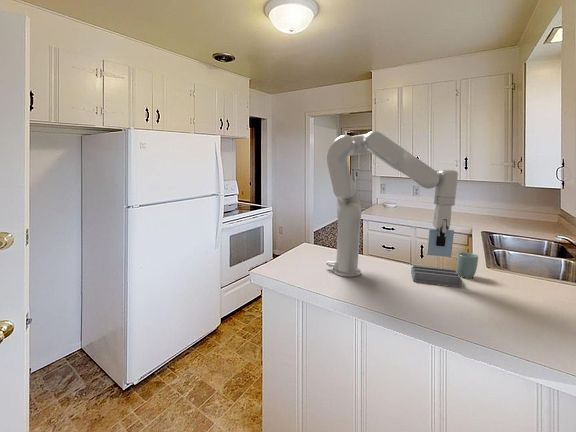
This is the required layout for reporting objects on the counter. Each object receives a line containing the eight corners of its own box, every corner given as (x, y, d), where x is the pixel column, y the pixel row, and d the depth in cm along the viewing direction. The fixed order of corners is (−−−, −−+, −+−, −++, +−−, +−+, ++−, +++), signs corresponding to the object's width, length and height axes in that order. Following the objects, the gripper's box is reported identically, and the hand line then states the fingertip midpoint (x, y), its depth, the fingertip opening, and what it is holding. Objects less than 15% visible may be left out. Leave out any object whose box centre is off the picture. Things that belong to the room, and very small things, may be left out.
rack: (413, 281, 131) (414, 272, 130) (411, 273, 141) (411, 264, 140) (461, 287, 126) (462, 278, 125) (455, 278, 136) (456, 269, 136)
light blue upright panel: (427, 254, 130) (429, 229, 128) (426, 253, 132) (429, 228, 130) (451, 257, 127) (454, 230, 125) (450, 255, 129) (453, 229, 127)
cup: (457, 272, 144) (460, 251, 142) (476, 276, 139) (479, 254, 137) (453, 276, 138) (456, 254, 136) (473, 281, 133) (476, 258, 132)
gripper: (431, 198, 134) (427, 240, 137) (437, 202, 119) (432, 249, 122) (450, 199, 132) (445, 241, 135) (459, 203, 117) (454, 251, 120)
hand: (439, 244), depth 129 cm, fingers closed on light blue upright panel, 1 cm apart
